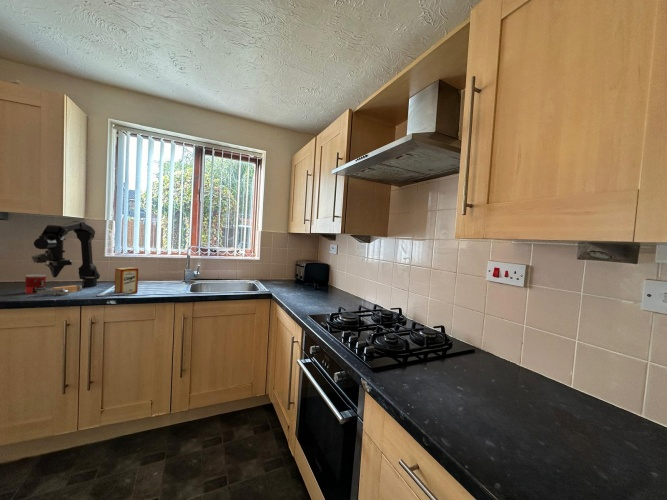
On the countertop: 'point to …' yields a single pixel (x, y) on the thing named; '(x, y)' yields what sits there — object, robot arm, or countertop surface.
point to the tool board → (79, 288)
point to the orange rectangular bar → (67, 288)
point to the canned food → (35, 283)
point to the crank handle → (54, 292)
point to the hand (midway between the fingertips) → (54, 277)
